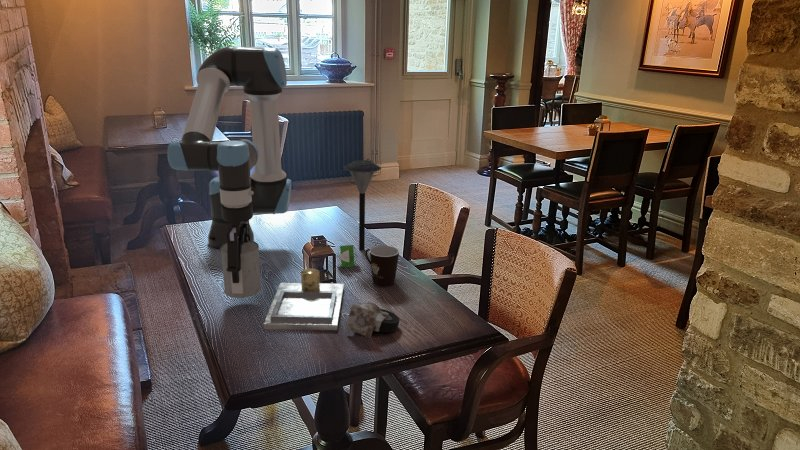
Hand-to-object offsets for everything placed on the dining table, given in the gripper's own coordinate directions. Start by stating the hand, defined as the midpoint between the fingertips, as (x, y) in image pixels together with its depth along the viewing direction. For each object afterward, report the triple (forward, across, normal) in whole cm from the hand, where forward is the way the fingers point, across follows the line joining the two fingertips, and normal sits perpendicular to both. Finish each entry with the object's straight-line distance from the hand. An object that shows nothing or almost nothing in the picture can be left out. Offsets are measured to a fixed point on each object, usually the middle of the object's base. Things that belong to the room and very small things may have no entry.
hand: (242, 284), depth 151 cm
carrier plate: (+6, -2, -17) cm, 18 cm away
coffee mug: (+6, +16, -37) cm, 41 cm away
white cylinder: (+2, 0, 0) cm, 2 cm away
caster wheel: (+6, -12, -35) cm, 38 cm away
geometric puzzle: (+7, +27, -26) cm, 38 cm away
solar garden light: (+7, +41, -30) cm, 52 cm away
